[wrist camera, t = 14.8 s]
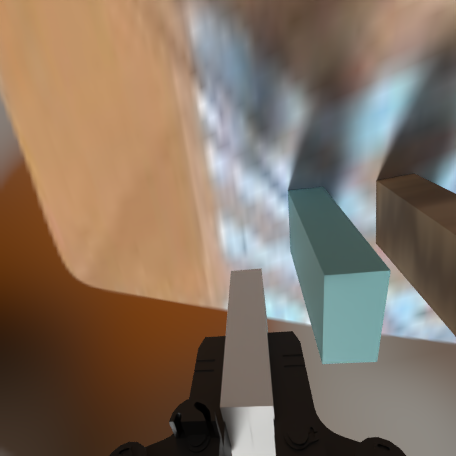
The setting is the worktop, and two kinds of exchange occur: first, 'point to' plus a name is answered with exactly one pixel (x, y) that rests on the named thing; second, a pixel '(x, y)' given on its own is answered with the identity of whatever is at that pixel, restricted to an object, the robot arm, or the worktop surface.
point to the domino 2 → (420, 238)
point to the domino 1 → (337, 278)
